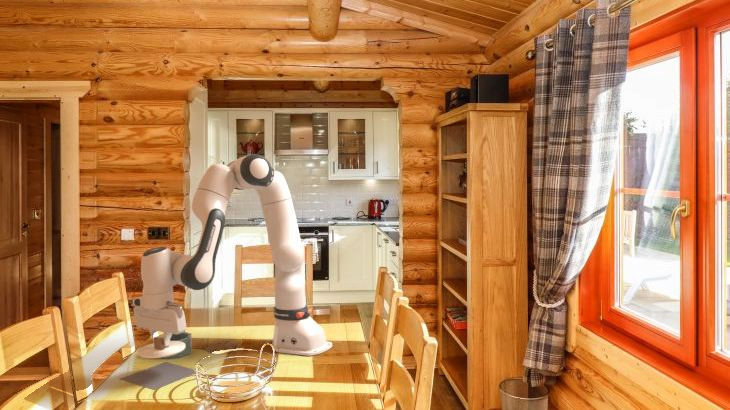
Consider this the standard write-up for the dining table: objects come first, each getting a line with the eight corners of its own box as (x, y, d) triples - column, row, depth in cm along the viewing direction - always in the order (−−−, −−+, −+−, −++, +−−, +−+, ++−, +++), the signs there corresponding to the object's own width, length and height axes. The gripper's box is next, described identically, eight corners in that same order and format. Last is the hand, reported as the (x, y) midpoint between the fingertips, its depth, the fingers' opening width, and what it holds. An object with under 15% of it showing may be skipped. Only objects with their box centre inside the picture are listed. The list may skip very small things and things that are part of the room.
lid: (195, 346, 170) (194, 333, 169) (157, 361, 158) (156, 346, 157) (165, 341, 177) (164, 328, 177) (127, 354, 165) (126, 340, 165)
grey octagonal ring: (198, 351, 191) (198, 334, 191) (170, 361, 181) (169, 344, 180) (176, 346, 197) (175, 330, 197) (147, 355, 187) (147, 338, 187)
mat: (200, 372, 171) (200, 371, 171) (154, 391, 156) (154, 389, 156) (165, 363, 180) (165, 361, 180) (118, 380, 165) (118, 378, 165)
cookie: (213, 357, 186) (213, 354, 186) (201, 348, 196) (201, 345, 195) (246, 350, 193) (246, 347, 193) (232, 342, 203) (232, 339, 203)
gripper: (189, 301, 164) (192, 345, 165) (146, 295, 174) (149, 337, 175) (172, 305, 158) (175, 352, 159) (129, 299, 169) (132, 343, 170)
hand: (161, 344), depth 167 cm, fingers closed on lid, 3 cm apart
